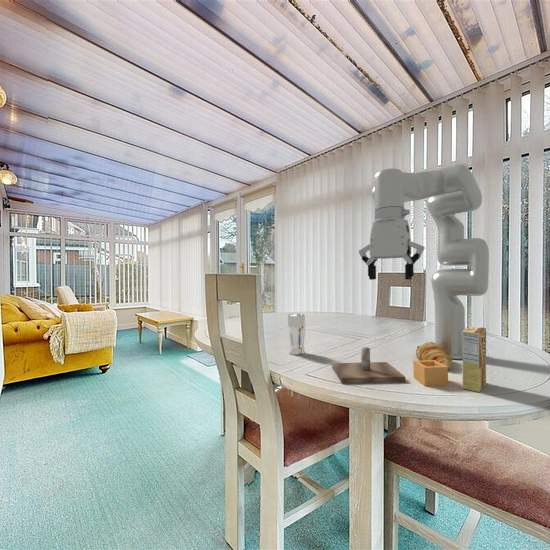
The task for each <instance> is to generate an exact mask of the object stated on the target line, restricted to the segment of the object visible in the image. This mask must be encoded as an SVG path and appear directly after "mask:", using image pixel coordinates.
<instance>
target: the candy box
mask: <svg viewBox="0 0 550 550" xmlns="http://www.w3.org/2000/svg"><path fill="white" fill-rule="evenodd" d="M462 333H463V359H462V389H464V390H467V391H473V392H477V393H481V392H482V390H483V388H484V387H485V385H486V383H487V327H486V328H485V327H479V326H468V327H467V328H465V330H464V331H462Z"/></svg>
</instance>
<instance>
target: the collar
mask: <svg viewBox="0 0 550 550" xmlns="http://www.w3.org/2000/svg"><path fill="white" fill-rule="evenodd" d="M412 363H413V364H412V365H413V366H412V367H413V370H412V371H413V379H415V380H416V381H417V382H419V383H420V384H422V385H423V386H424V387H435V386H436V387H437V386H440V387H441V386H442V387H445V386H449V369H448V367H447V366H445V365H443V364H441V363H439V362H437V361H436V360H424V361H420V360H413V362H412Z"/></svg>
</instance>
